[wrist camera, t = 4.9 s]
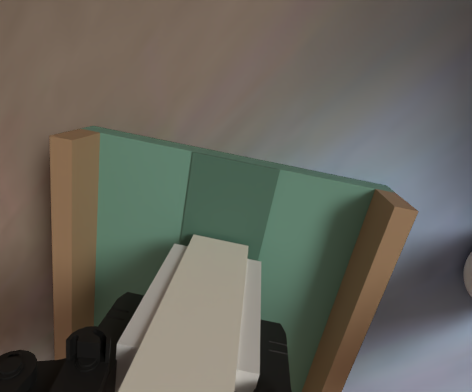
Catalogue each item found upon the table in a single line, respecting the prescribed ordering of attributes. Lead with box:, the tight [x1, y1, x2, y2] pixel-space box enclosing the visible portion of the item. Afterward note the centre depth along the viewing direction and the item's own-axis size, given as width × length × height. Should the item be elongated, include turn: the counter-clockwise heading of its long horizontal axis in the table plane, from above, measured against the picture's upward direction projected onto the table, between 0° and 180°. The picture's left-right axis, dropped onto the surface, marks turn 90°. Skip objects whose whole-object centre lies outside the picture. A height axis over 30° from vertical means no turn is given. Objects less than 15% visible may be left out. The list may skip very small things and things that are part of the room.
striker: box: [118, 235, 249, 392], centre depth 12 cm, size 6×6×12 cm
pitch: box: [50, 126, 418, 392], centre depth 19 cm, size 24×16×4 cm, turn 169°
